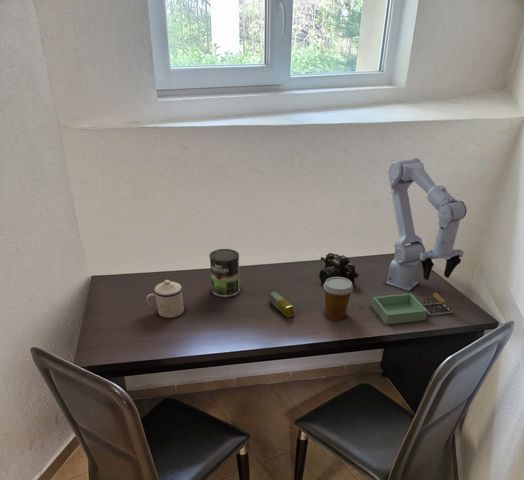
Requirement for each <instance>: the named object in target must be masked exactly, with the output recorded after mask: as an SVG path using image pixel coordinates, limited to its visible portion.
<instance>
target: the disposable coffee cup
mask: <svg viewBox="0 0 524 480" xmlns="http://www.w3.org/2000/svg"><path fill="white" fill-rule="evenodd" d="M322 285H323V284H322ZM323 289H324V298H325V299H324V301H325V302H324V304H325V317H326V318H329V319H330V320H335V321H336V320H341V319H342V318H344V317H345V316H346V312H347V308H348V305H349V301H350V297H351V293H352V292H353V290H354V286H353V285H352V282H351V281H350V280H348V279H346V278H343V277H331V278H329V279H327V280H326V281H325V283H324V285H323Z"/></svg>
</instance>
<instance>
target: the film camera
mask: <svg viewBox="0 0 524 480" xmlns="http://www.w3.org/2000/svg"><path fill="white" fill-rule="evenodd" d="M320 262H324V268H322V269H320V271H319V274H318V277H319V281H320V282H321V284H322V285H324V283H325V281H326V280H327V279H329V278H331V277H343V278H346V279H348V280H350V281H351V282H352V285H353V287H354V286H355V279H357V278H358V277H359V274H358V273H357V272H356V266H355V265H354V263H352V262H350V259H349V258H348V256H345V254H341V255H339V254H337V253H332V252H329V253H328V254H325V257H323V256H321V257H320Z"/></svg>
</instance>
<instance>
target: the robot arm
mask: <svg viewBox="0 0 524 480" xmlns="http://www.w3.org/2000/svg"><path fill="white" fill-rule="evenodd" d="M387 176H388V181H389V187H390V193H391V198H392V204H393V210H394V215H395V221H396V225H397V231H398V236H399V237H398V239H397V241H396V242H395V243H394V245H393V246H394V254H393V255H394V256H393V257H394V258H393V259H392V260H391V262H390V264H389V267H388V273H387V279H386V281H385V284H386V285H391V286H394V287H397V288H400V289H403V290H406V291H411V290H412V289H413V288H414V287H415V286H416V285H417V284H419V282H418V281H416V276H417V271H418V267H419V264H420V263H421V265H422V272H423V273H422V274H423V279H425V280H426V281H428V280H429V279H430V275H431V272H432V269H433V267H434V266H435V263H434V262H433V260H435V259H443V260H446V261H445V267H444V272H443V276H444V277H445V278H447V279H448V278H450V276H451V274H453V271H454V270H455V268H457V266H458V265H460V264H461V262H462V259H461V258H463V257H464V253H465V252H464V251H463V250H462V249H454V246H455V242H456V237H457V233H458V230H459V227H460V222H461V220H463V219H464V218H465V217H466V215H467V210H468V209H467V205H466V204H465V202H464V201H463V200H458V199H455V197H453V196H452V195H451V194H450V192H448V190H447V188H446V187H445V186H443V185H437V184H436V183H435V182H434V180H433V179H432V178H431V176H430V175H429V174H428V172H427V171H426V170H425V165H424V163H423V162H422V161H421V160H420V158H417V157H413V158H409V159H403V160H401V159H400V160H393V161H392V162H391V164H390V166H389V168H388V170H387ZM413 183H415V184H417V185H418V187H420V188H421V189H422V190H423V192H425V193H426V194H427V196H426V198H427V201H428V202H429V203H430V204H431V205H432V206H433V207H434V208H435V210H436V211H437V217H438V223H437V224H438V229H437V232H436V233H437V234H436V238H435V241H434V247H433V249H431V250H428V251H426V247H425V245H424V242H423V239H422V237H420V236H419V235H417V234H416V232H415V225H414V221H413V220H414V219H413V213H412V209H411V202H410V197H409V192H408V190H409V188H410V186H411V185H412V184H413Z"/></svg>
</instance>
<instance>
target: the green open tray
mask: <svg viewBox="0 0 524 480" xmlns="http://www.w3.org/2000/svg"><path fill="white" fill-rule="evenodd" d="M422 304H423V303H421V302H420V301H419V300H418V298H416V297H415V296H414V295H413V293H411V292H410V293H399V294H392V295H382V296H373V297H372V302H371V307H372V308H373V310H374V311H375V312H376V314H377V315H378V316H379V318H380V319H381V320H382V321H383V323H384V324H385V325H393V324H402V323H411V322H420V321H426V320H427V316H428V313H427V311H428V309H427V308H426V307H425V305H422Z"/></svg>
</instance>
